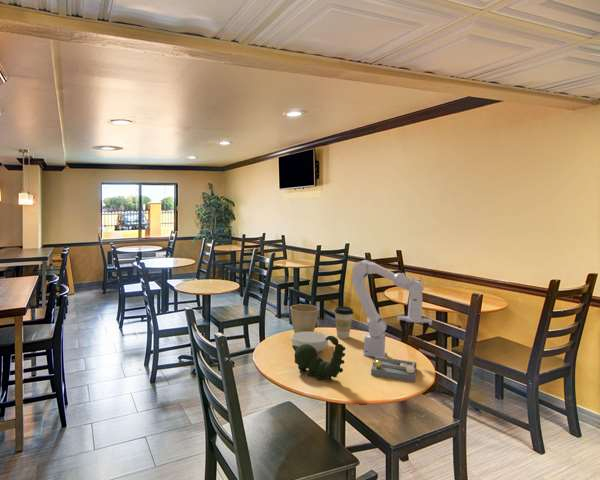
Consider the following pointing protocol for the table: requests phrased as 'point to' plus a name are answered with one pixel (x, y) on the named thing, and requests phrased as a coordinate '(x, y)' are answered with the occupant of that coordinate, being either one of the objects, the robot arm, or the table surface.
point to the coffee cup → (343, 321)
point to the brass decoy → (378, 364)
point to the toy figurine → (319, 360)
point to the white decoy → (410, 369)
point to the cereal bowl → (310, 339)
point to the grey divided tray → (394, 369)
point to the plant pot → (304, 317)
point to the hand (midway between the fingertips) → (413, 338)
